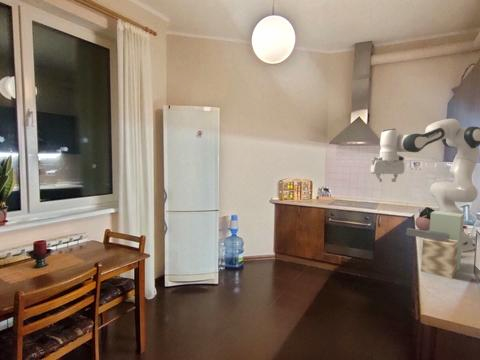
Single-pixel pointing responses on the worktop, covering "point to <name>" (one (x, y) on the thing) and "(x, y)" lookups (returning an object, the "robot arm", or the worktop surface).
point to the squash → (426, 212)
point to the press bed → (439, 257)
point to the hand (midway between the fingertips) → (386, 181)
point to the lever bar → (428, 234)
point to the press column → (449, 227)
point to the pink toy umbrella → (423, 223)
